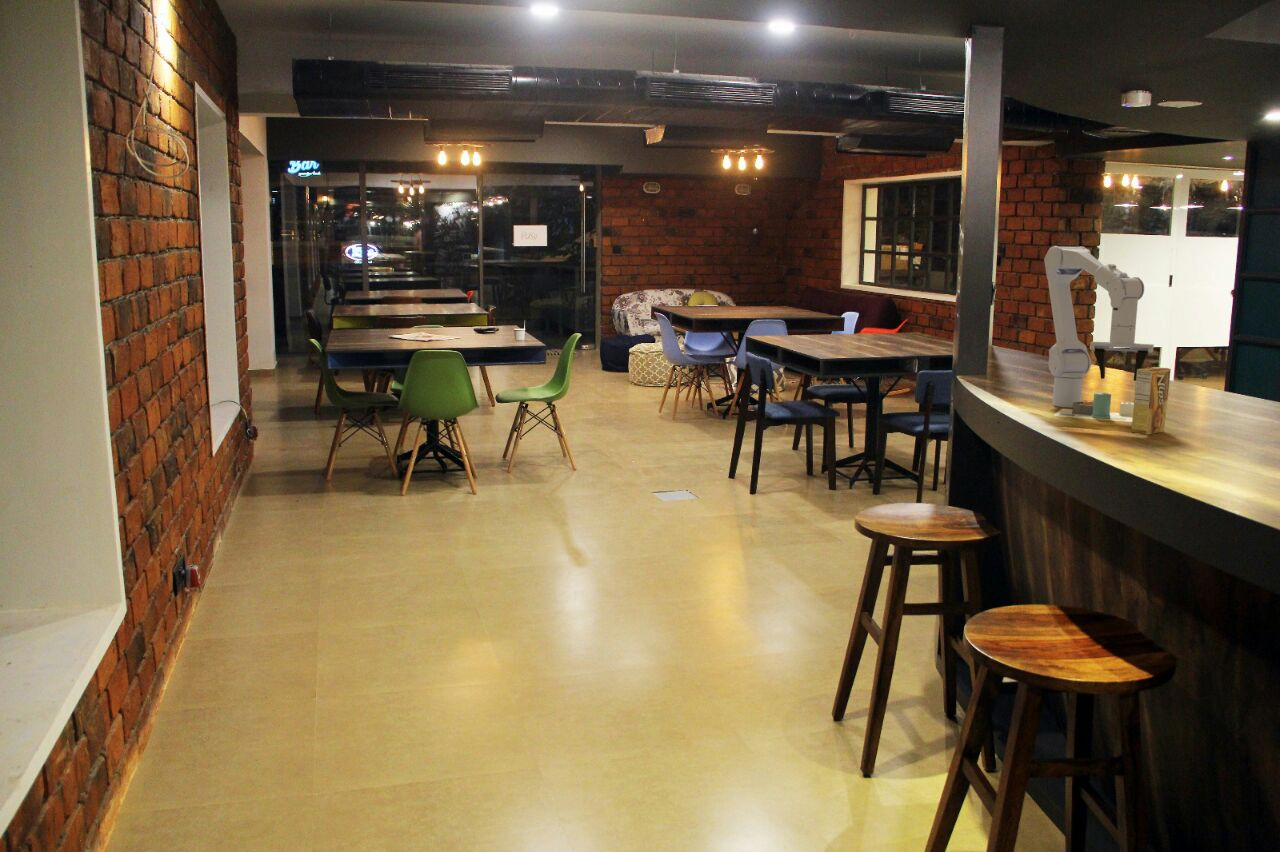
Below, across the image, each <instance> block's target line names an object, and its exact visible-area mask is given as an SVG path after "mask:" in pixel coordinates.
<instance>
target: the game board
mask: <svg viewBox="0 0 1280 852" xmlns="http://www.w3.org/2000/svg"><path fill="white" fill-rule="evenodd" d="M1081 404H1083V401H1081V402H1074V403H1073V407H1072V409H1071V408H1061V409H1059V410H1058V411H1056V412H1055V413H1054V414H1053V415H1052V417H1063V418H1064V417H1065V418H1075V419H1087V420H1102V421H1115V422H1126V423H1132V418H1133V408H1134V402H1127V401H1126V402H1125V401H1121V402H1120V404H1119V412H1111V411H1110V419H1098V418H1092V417H1091V415H1092V413H1093V406H1092V405H1081Z"/></svg>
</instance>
